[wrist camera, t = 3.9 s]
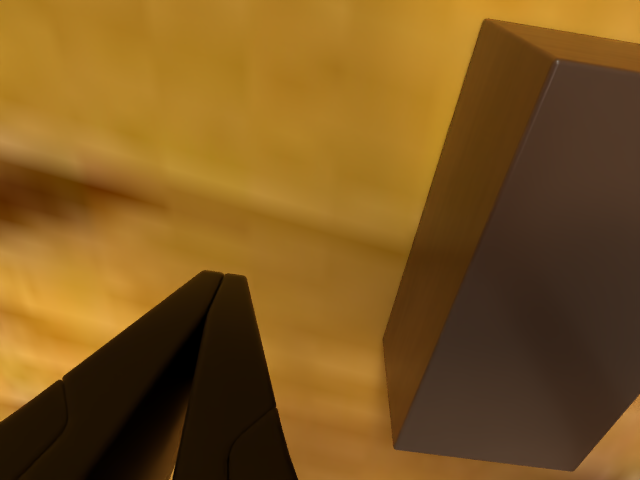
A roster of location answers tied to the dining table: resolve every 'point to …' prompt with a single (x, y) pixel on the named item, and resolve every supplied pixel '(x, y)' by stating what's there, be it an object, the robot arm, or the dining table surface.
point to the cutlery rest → (525, 258)
